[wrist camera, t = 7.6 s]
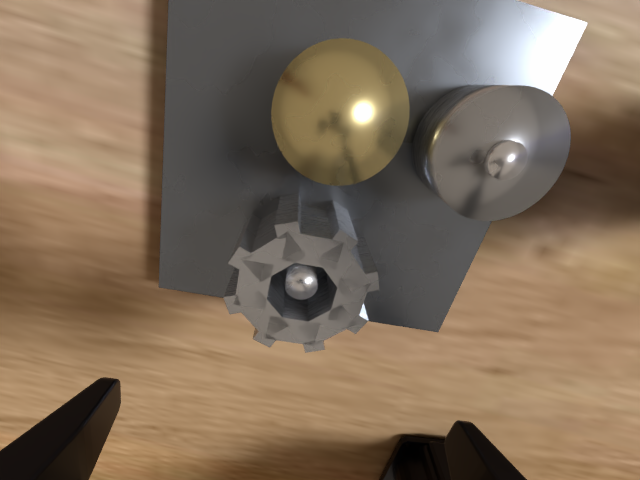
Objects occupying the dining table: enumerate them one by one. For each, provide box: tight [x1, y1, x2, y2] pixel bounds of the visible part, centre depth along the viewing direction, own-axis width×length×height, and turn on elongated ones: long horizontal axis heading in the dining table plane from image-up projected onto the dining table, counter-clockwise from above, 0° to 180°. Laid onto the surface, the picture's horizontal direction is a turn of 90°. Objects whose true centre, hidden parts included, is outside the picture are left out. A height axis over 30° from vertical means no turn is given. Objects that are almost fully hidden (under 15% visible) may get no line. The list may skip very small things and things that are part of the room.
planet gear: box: [224, 193, 379, 353], centre depth 16 cm, size 6×6×4 cm
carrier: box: [159, 0, 587, 332], centre depth 15 cm, size 16×16×5 cm
